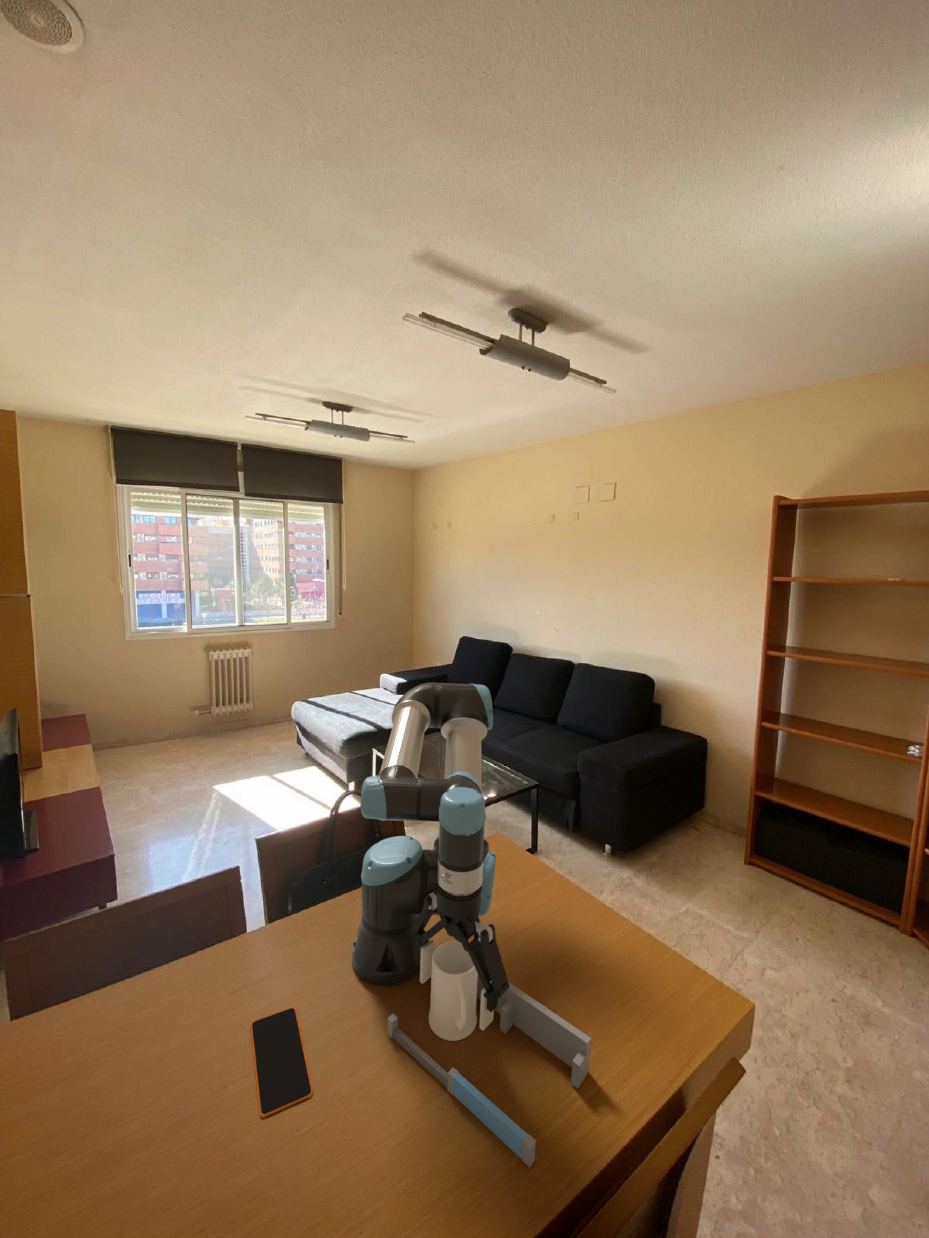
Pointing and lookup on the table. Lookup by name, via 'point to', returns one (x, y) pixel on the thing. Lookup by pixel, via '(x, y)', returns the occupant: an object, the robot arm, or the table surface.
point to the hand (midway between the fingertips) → (454, 1000)
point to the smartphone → (279, 1062)
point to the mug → (453, 992)
